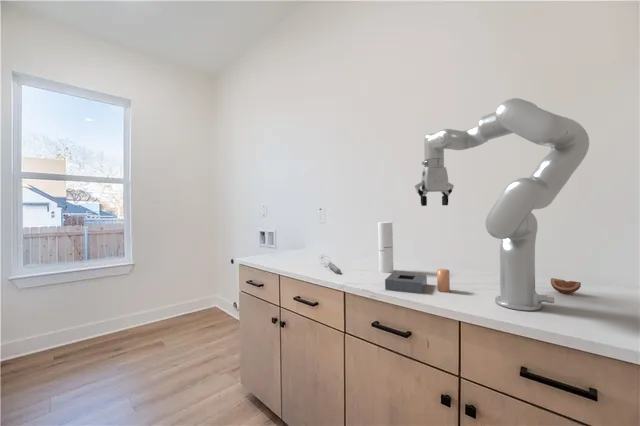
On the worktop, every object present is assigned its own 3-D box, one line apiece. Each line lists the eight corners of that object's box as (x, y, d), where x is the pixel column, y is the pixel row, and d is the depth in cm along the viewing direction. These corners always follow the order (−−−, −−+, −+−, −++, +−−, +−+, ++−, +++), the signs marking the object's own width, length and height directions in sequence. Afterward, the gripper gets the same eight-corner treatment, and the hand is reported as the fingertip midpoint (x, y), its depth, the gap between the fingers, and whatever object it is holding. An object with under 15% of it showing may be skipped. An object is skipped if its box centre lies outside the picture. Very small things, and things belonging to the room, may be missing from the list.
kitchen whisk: (334, 276, 143) (334, 263, 143) (317, 264, 176) (316, 253, 176) (346, 275, 145) (345, 262, 145) (326, 263, 177) (326, 252, 177)
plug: (450, 289, 115) (449, 269, 114) (449, 292, 111) (449, 271, 110) (437, 288, 117) (437, 268, 116) (436, 291, 113) (436, 270, 112)
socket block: (426, 284, 123) (426, 274, 123) (422, 293, 111) (421, 282, 110) (393, 281, 129) (393, 272, 129) (385, 289, 117) (385, 279, 117)
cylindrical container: (393, 272, 146) (392, 222, 145) (379, 272, 147) (378, 222, 147) (393, 269, 153) (392, 221, 152) (379, 269, 154) (378, 222, 154)
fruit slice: (582, 294, 105) (582, 280, 105) (579, 298, 101) (579, 283, 101) (552, 289, 111) (552, 276, 111) (549, 293, 107) (548, 279, 107)
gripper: (419, 163, 116) (420, 206, 117) (458, 163, 120) (459, 205, 120) (410, 165, 124) (411, 206, 124) (447, 165, 127) (447, 205, 127)
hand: (434, 205), depth 122 cm, fingers open, 9 cm apart
